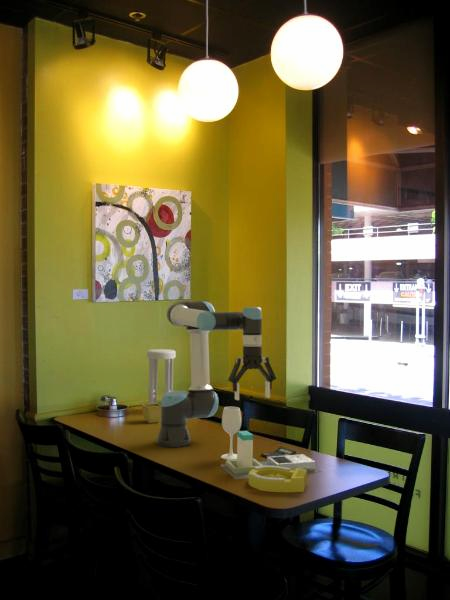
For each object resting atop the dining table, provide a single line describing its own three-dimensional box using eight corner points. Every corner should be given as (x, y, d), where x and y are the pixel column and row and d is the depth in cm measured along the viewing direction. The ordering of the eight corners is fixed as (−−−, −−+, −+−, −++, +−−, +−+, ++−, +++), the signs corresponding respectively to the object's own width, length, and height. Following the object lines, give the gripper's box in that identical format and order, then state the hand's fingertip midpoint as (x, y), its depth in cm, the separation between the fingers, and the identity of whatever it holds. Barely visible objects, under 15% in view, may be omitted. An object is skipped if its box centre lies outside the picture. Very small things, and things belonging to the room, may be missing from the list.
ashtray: (301, 495, 217) (302, 481, 216) (243, 488, 222) (244, 474, 222) (308, 480, 232) (308, 467, 232) (254, 474, 238) (254, 461, 238)
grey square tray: (234, 473, 239) (234, 468, 239) (225, 465, 249) (225, 460, 249) (263, 471, 242) (263, 466, 242) (253, 463, 253) (254, 458, 253)
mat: (235, 480, 232) (235, 479, 232) (219, 465, 250) (219, 464, 250) (322, 472, 243) (322, 471, 243) (301, 459, 261) (301, 458, 261)
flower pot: (141, 421, 328) (141, 404, 328) (156, 419, 332) (157, 402, 332) (147, 424, 321) (147, 407, 320) (163, 423, 325) (163, 405, 325)
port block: (277, 473, 240) (277, 463, 240) (266, 465, 250) (266, 456, 250) (315, 470, 245) (315, 460, 245) (303, 462, 255) (303, 453, 255)
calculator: (260, 455, 264) (261, 448, 264) (280, 453, 272) (281, 446, 272) (276, 460, 257) (276, 453, 257) (295, 458, 264) (296, 451, 264)
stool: (176, 410, 358) (177, 349, 357) (170, 415, 343) (171, 352, 342) (150, 409, 360) (151, 348, 359) (143, 414, 345) (144, 351, 344)
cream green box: (242, 471, 242) (243, 435, 241) (236, 466, 248) (237, 431, 248) (252, 470, 243) (253, 434, 243) (246, 465, 250) (246, 430, 249)
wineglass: (244, 456, 265) (244, 407, 264) (237, 461, 256) (238, 410, 256) (224, 454, 267) (225, 405, 267) (217, 459, 259) (218, 409, 259)
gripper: (227, 347, 241) (227, 401, 241) (284, 345, 251) (284, 398, 251) (219, 345, 248) (220, 399, 248) (275, 344, 258) (275, 395, 258)
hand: (252, 398), depth 249 cm, fingers open, 13 cm apart
